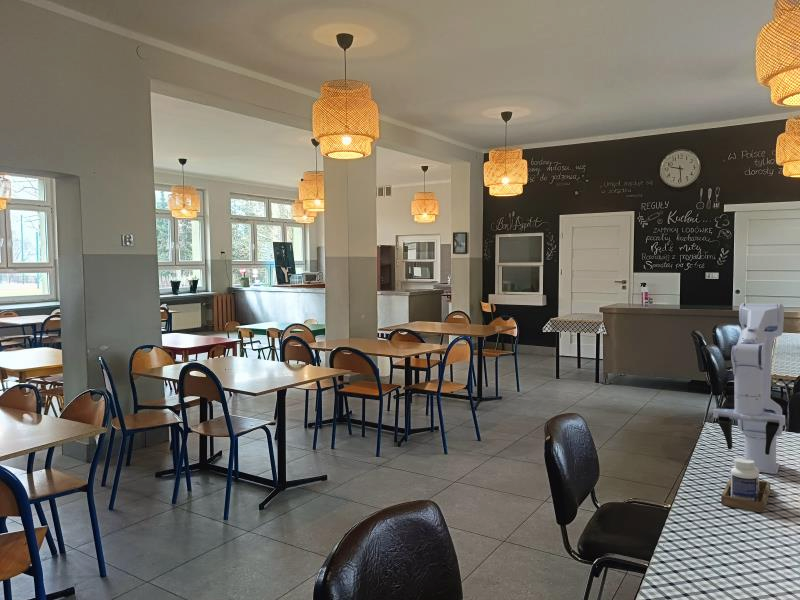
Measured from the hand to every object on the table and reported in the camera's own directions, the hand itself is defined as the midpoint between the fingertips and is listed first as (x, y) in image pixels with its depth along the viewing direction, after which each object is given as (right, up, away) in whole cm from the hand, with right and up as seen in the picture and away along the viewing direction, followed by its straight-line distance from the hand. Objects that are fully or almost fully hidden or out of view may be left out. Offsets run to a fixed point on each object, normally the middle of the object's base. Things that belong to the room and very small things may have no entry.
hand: (748, 450), depth 139 cm
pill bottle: (-4, -11, -6) cm, 13 cm away
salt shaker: (0, -10, 0) cm, 10 cm away
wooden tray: (-2, -10, -3) cm, 11 cm away
